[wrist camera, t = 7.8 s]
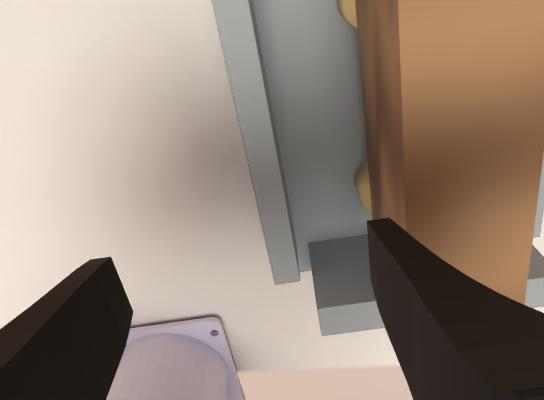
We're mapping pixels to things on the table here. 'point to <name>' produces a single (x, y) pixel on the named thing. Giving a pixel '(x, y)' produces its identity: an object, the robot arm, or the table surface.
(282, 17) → the peg stand
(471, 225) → the board
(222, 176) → the table surface
